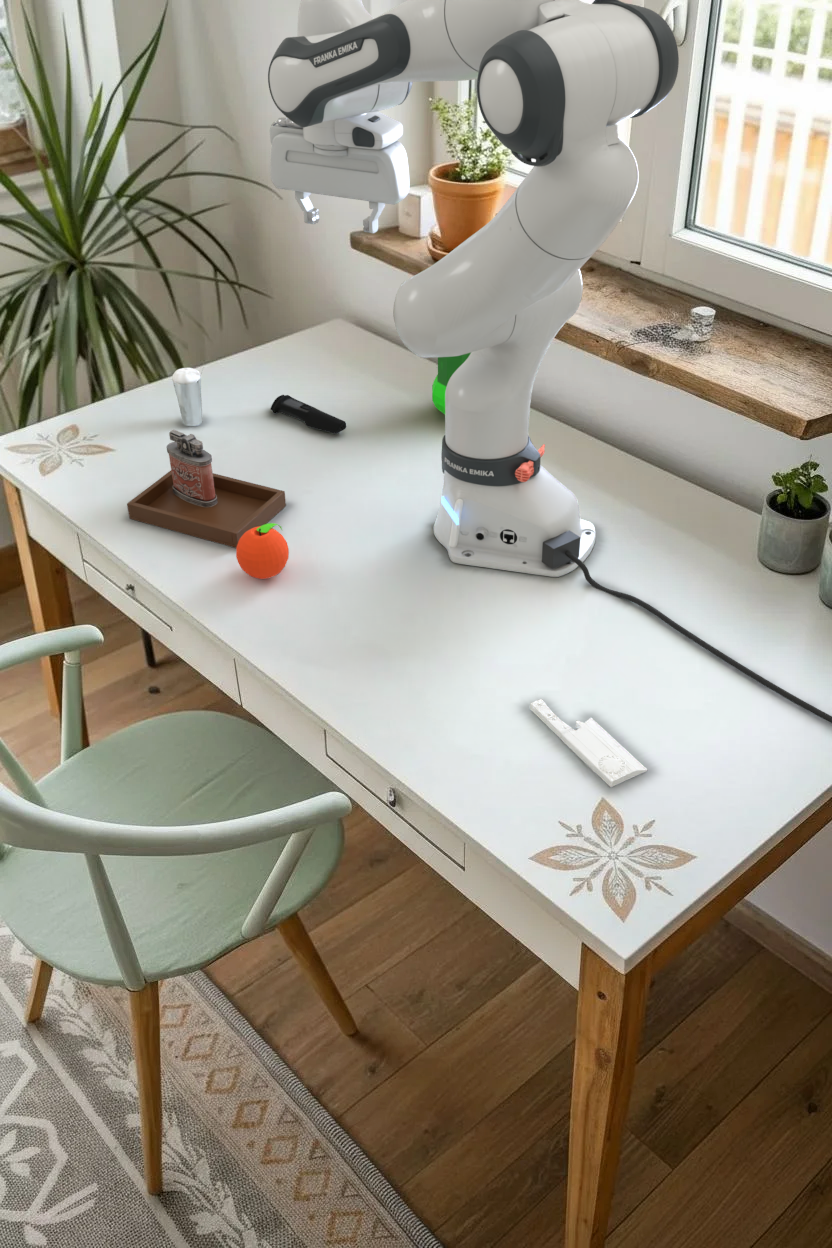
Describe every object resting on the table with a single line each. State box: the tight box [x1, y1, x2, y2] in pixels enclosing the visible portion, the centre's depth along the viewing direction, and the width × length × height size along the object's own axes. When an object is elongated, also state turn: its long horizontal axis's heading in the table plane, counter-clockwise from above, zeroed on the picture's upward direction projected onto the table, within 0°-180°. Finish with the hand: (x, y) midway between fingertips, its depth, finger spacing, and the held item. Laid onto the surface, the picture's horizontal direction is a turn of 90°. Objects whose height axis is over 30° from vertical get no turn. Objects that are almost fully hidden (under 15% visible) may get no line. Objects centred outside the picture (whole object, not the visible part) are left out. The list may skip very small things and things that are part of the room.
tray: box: [126, 470, 287, 549], centre depth 174 cm, size 19×13×2 cm
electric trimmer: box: [270, 394, 347, 435], centre depth 196 cm, size 4×16×3 cm, turn 48°
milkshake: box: [171, 365, 205, 427], centre depth 195 cm, size 4×5×10 cm
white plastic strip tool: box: [529, 698, 648, 788], centre depth 134 cm, size 5×15×1 cm, turn 30°
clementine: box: [235, 522, 290, 580], centre depth 160 cm, size 8×7×7 cm
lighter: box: [166, 429, 217, 507], centre depth 175 cm, size 8×3×10 cm, turn 51°
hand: (341, 227), depth 170 cm, fingers open, 8 cm apart
